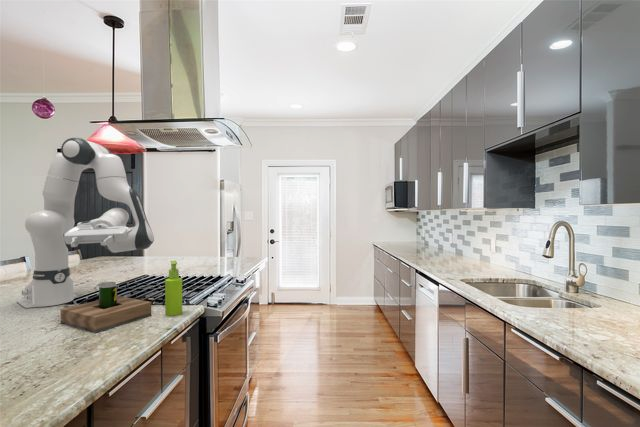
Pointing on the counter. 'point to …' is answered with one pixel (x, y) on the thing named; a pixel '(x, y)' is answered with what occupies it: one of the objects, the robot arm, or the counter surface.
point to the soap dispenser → (173, 292)
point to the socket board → (105, 314)
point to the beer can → (107, 295)
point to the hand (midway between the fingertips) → (88, 244)
